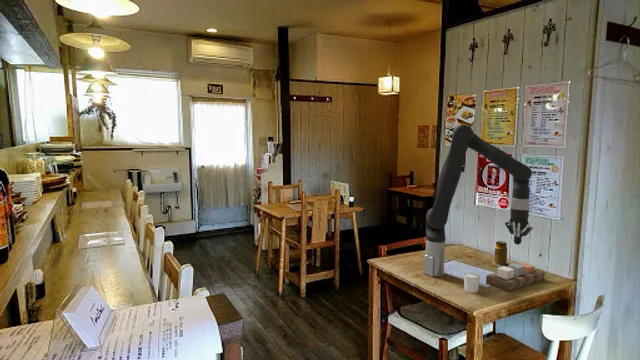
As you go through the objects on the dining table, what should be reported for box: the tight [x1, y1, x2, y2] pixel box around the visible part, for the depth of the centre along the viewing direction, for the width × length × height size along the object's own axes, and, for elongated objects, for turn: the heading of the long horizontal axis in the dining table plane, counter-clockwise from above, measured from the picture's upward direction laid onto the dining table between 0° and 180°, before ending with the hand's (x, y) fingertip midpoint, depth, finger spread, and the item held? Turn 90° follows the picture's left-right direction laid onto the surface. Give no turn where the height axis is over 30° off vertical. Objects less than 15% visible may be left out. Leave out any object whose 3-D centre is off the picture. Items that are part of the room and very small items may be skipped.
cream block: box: [496, 266, 514, 280], centre depth 176 cm, size 5×5×4 cm
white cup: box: [463, 272, 481, 294], centre depth 171 cm, size 7×7×7 cm
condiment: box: [490, 240, 511, 267], centre depth 205 cm, size 7×8×12 cm
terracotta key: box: [519, 262, 535, 274], centre depth 184 cm, size 5×5×4 cm
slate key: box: [507, 262, 525, 276], centre depth 180 cm, size 5×5×4 cm
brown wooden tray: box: [485, 268, 545, 293], centre depth 181 cm, size 28×11×4 cm, turn 120°
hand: (517, 244), depth 179 cm, fingers closed
